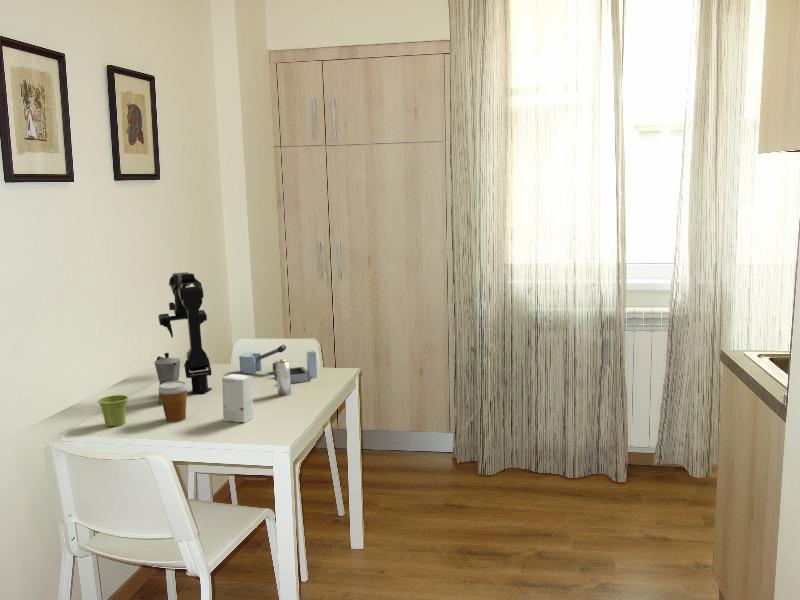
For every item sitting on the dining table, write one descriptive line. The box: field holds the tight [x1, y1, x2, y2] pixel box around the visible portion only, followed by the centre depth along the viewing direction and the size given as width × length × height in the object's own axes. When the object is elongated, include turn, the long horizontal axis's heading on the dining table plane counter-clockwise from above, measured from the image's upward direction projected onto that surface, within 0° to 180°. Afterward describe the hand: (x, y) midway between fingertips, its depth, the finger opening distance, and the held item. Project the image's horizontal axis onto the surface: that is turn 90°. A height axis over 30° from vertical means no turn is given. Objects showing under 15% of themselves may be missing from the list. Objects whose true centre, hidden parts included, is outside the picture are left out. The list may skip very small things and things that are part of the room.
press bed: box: [273, 350, 318, 384], centre depth 290 cm, size 16×12×10 cm
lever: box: [255, 344, 287, 361], centre depth 301 cm, size 4×14×2 cm, turn 77°
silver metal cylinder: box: [275, 358, 292, 397], centre depth 268 cm, size 5×5×13 cm
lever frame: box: [238, 352, 280, 375], centre depth 303 cm, size 7×17×7 cm, turn 77°
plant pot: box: [97, 394, 129, 427], centre depth 241 cm, size 9×9×9 cm
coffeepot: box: [154, 352, 181, 405], centre depth 266 cm, size 15×9×18 cm, turn 41°
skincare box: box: [221, 373, 254, 424], centre depth 240 cm, size 8×6×15 cm
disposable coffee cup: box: [157, 380, 189, 423], centre depth 244 cm, size 10×10×12 cm
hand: (183, 336), depth 306 cm, fingers open, 9 cm apart
